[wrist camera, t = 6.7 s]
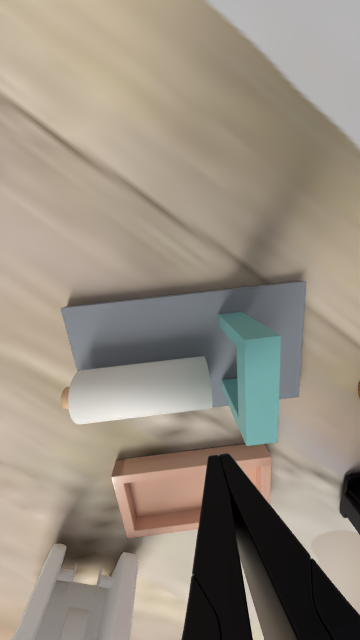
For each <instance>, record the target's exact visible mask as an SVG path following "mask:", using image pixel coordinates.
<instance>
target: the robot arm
mask: <svg viewBox="0 0 360 640" xmlns="http://www.w3.org/2000/svg"><path fill="white" fill-rule="evenodd" d="M340 513H341V515H342V516H343V517H344V518H348V519H349V520H350V522H351V523H352V524H353V526H354V527H355V529H356V530H357V532H358V533H359V534H360V474H352V475H348V476H346V477H345V481H344V487H343V494H342V500H341V507H340ZM240 559H241V562H240ZM241 563H242V566H243V569H244V573H245V576H246V579H247V583H248V586H249V589H250V593H251V596H252V599H253V603H254V606H255V609H256V613H257V616H258V619H259V623H260V626H261V629H262V633H263V636H264V640H360V615H359V614H358V613H357V611H356V610H355V609H354V608H353V607H352V606H351V605H350V603H349V602H348V601H347V600H346V599H345V597H344V596H343V595H342V594H341V593H340V591H338V589H337V588H336V587H335V585H334V584H333V583H332V582H331V580H330V579H329V578H328V577H327V576H326V574H325V573H324V572H323V571H322V569H321V568H320V567H319V566H318V564H317V563H316V562H315V560H314V559H311V556H310V554H309V553H308V552H307V551H306V549H305V548H304V547H303V546H302V544H301V543H300V542H299V541H298V539H297V538H296V537H295V536H294V534H293V533H292V532H291V530H290V529H289V528H288V527H287V525H286V524H285V523H284V522H283V520H282V519H281V518H280V517H279V515H278V514H277V513H276V512H275V510H274V509H273V508H272V507H271V505H270V504H269V503H268V502H267V500H266V499H265V498H264V497H263V495H262V494H261V493H260V491H259V490H258V489H257V488H256V486H255V485H254V484H253V483H252V481H251V480H250V479H249V478H248V476H247V475H246V474H245V473H244V471H243V470H242V469H241V468H240V466H239V465H238V464H237V463H236V461H235V460H234V459H233V458H232V456H231V455H230V454H229V453H224V454H220V455H219V456H218V455H209V456H208V461H207V468H206V475H205V483H204V490H203V497H202V505H201V512H200V519H199V527H198V534H197V541H196V549H195V556H194V563H193V571H192V575H193V576H192V577H191V584H190V592H189V599H188V605H187V611H186V618H185V624H184V630H183V635H182V640H253V638H252V632H251V626H250V619H249V613H248V607H247V600H246V594H245V588H244V581H243V575H242V569H241Z"/></svg>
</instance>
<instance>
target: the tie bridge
mask: <svg viewBox="0 0 360 640" xmlns="http://www.w3.org/2000/svg"><path fill="white" fill-rule="evenodd" d="M218 320H219V327H220V328H221V329H222V330H223V331H224V333H225V334H226V335H227V336H228V337H229V339H230V340H231V341H232V342H233V343H234V345H235V346H236V347H237V378H234V379H226V380H222V390H223V392H224V395H225V397H226V399H227V402H228V404H229V407H230V409H231V411H232V414H233V416H234V418H235V421H236V423H237V425H238V428H239V430H240V432H241V435H242V437H243V439H244V442H245V444H246V446H252V445H260V444H268V443H276V442H278V412H279V381H280V351H281V335H279V334H277V333H276V332H274V331H272V330H271V329H269V328H268V327H266V326H264V325H263V324H261V323H259V322H258V321H256V320H255V319H253V318H251V317H250V316H248V315H246V314H245V313H243V312H235V313H226V314H218Z"/></svg>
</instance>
